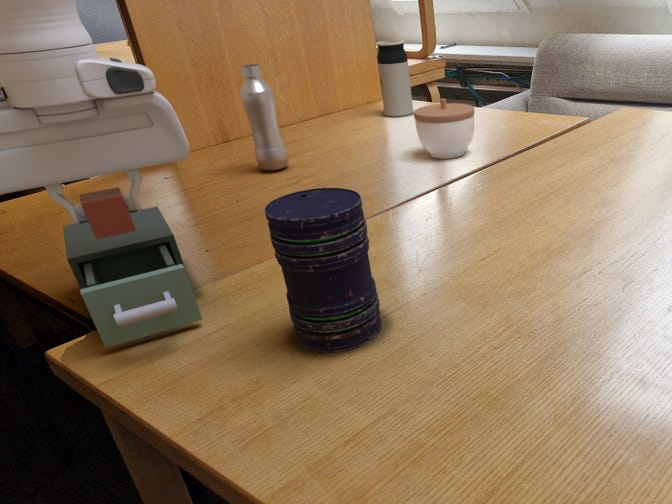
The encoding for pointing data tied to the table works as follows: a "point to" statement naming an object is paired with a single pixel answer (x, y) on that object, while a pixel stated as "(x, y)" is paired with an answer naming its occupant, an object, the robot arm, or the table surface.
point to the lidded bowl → (445, 128)
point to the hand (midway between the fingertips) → (109, 216)
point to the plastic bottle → (263, 119)
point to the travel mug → (394, 78)
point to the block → (107, 212)
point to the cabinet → (118, 241)
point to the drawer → (138, 294)
